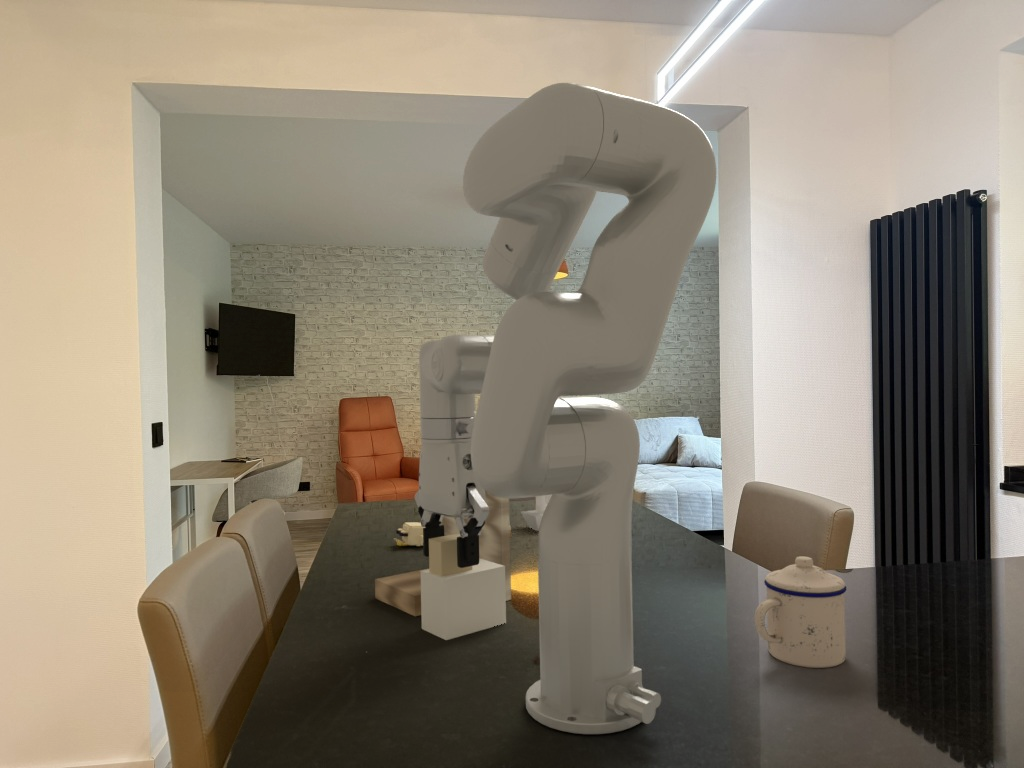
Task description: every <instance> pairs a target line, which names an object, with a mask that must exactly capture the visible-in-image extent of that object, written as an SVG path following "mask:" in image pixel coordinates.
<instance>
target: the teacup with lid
mask: <svg viewBox="0 0 1024 768" xmlns="http://www.w3.org/2000/svg"><path fill="white" fill-rule="evenodd" d="M763 581H764V585H765V586H766V600H763V601H762V602H761V603H760V604H759V605H757V607H756V609H755V613H754V626H755V629H756V632H757V633H758V635H759V636H760V638H761V639H763V640H764V641H766V642H767V650H768V652H769V654H770V655H771V656H772V657H774V658H775V659H777V660H778V661H781V662H784V663H786V664H789V665H791V666H796V667H797V666H798V667H803V668H812V669H814V668H815V669H820V668H821V669H825V668H832V667H837V666H839V665H841V664H842V663H844V662H845V660H846V655H847V654H846V653H847V652H846V615H845V614H846V610H845V592H846V591H847V586H846V583H845V582H844V579H842V578H841V577H839V576H837V575H834V574H832V573H829V572H827V571H826V570H824V569H823V568H822V567H819V566H816V565H814V560H813V558H812V557H809V556H796V558H795V561H794V563H793V564H789V565H787V566H785V567H784V568H782V569H777V570H776V569H775V570H773V571H771V572H769V573H767V574H766V576H765V579H764V580H763ZM766 615H767V616H766ZM766 617H767V618H766ZM765 618H766V619H767V620H766V622H767V624H765V623H766V622H765ZM766 625H767V627H766Z"/></svg>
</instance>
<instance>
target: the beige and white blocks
mask: <svg viewBox="0 0 1024 768" xmlns="http://www.w3.org/2000/svg"><path fill="white" fill-rule="evenodd" d="M457 537H461V536H460V534H454V535H448V536H442V537H437V538H431V539H429V557H428V558H429V559H428V562H429V563H428V564H429V566H428V568H429V569H427V568H425V569H426V570H422V569H420V570H421V615H420V616H421V629H422V630H423V631H425V632H428V633H429V634H432V635H434V636H436V637H438V638H441V639H442V640H445V641H449V640H452V639H455V638H459V637H462V636H466V635H469V634H473V633H476V632H480V631H484V630H487V629H491V628H493V627H494V626H495V627H497V625H498V626H500V625H501V624H502V625H504V623H505V624H507V601H506V589H505V566H504V565H500V564H497V563H493V562H490V561H487V560H483V559H480V558H479V564H478V565H474V566H469V567H464V568H460V567H458V566H457Z"/></svg>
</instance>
